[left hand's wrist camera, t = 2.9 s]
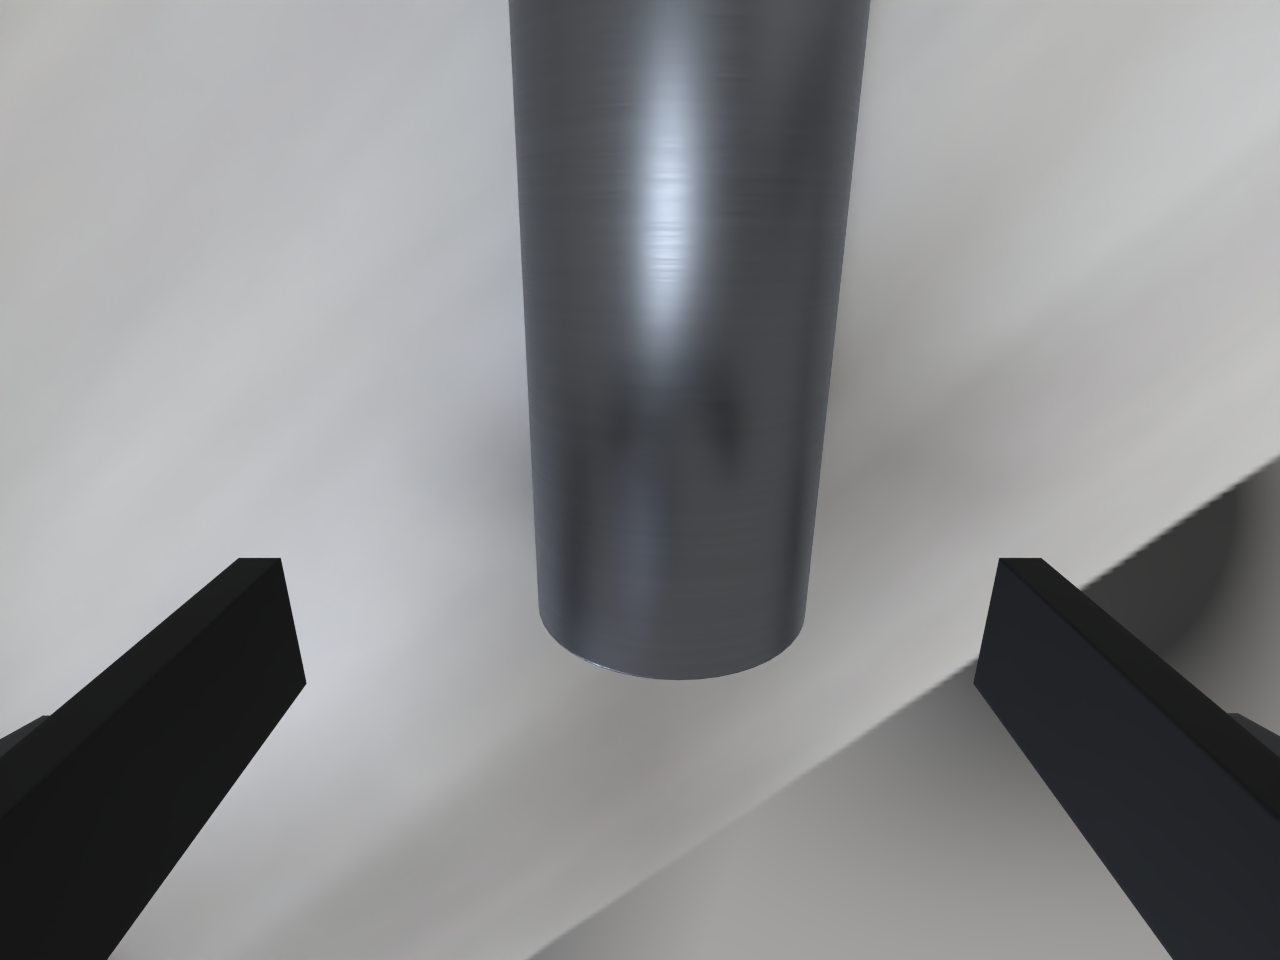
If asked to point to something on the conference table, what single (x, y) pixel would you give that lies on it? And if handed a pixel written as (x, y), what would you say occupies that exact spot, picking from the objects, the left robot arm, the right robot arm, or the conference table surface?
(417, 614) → the conference table surface
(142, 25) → the conference table surface
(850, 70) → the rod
